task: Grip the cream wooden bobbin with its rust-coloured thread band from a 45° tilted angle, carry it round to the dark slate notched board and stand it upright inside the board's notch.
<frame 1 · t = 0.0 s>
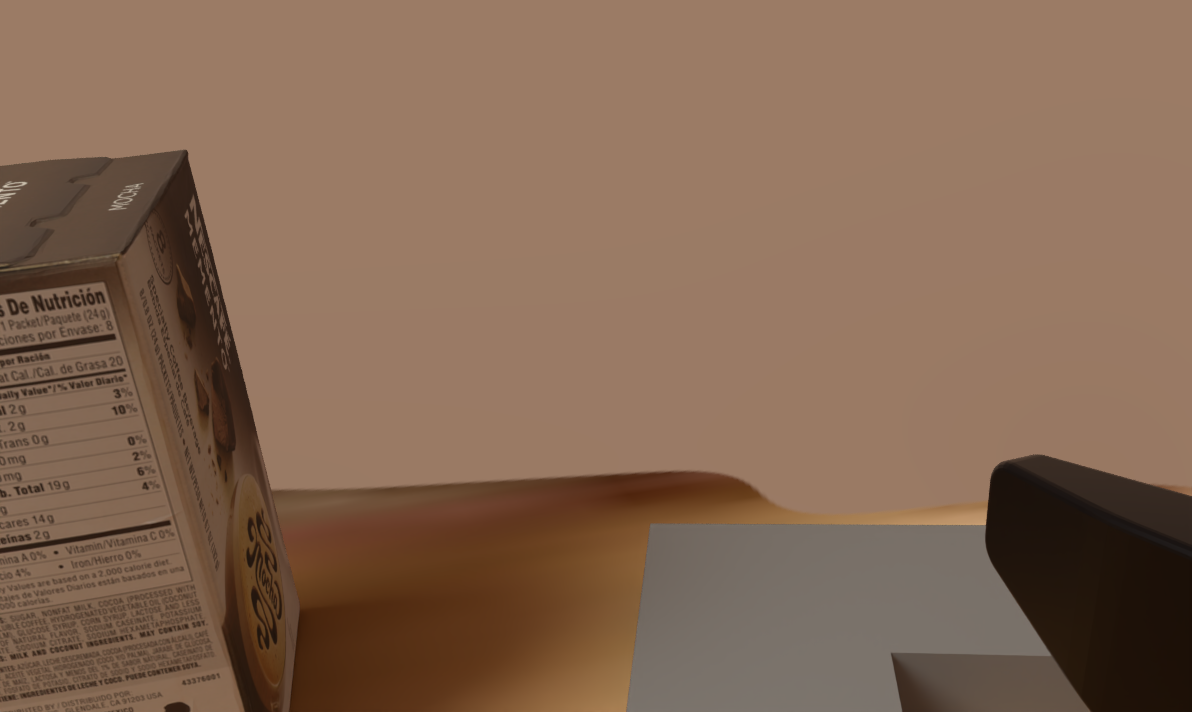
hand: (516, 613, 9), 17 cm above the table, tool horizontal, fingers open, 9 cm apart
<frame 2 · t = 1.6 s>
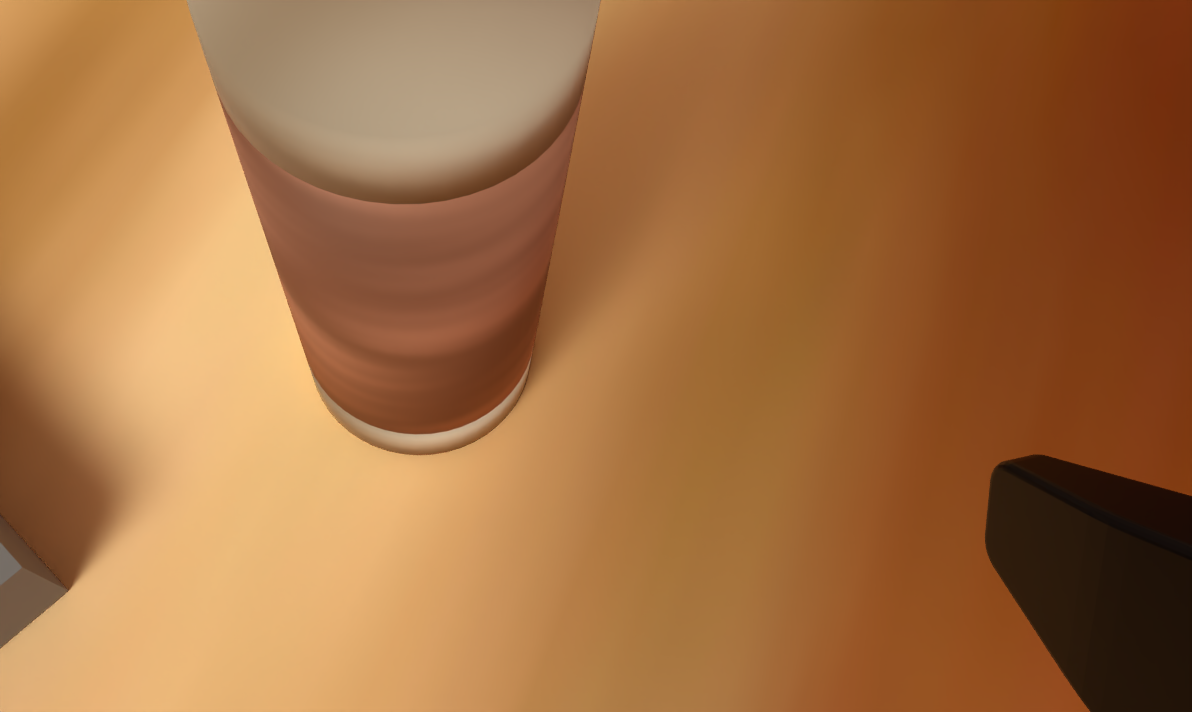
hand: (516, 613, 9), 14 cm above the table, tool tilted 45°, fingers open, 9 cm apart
bobbin: (422, 350, 24), on the table
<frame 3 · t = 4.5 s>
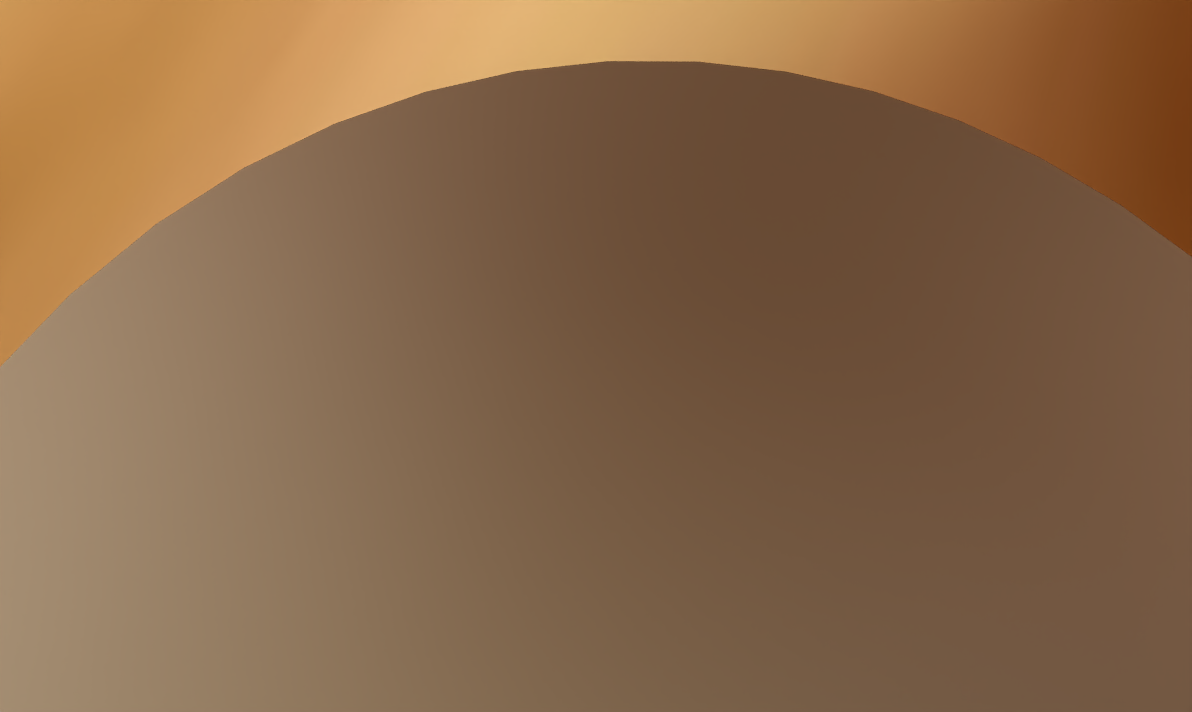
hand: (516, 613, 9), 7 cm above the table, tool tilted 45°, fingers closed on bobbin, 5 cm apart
when the fingers open (8 cm above the table, at t = 10.1 s): bobbin drops 1 cm, on the table.
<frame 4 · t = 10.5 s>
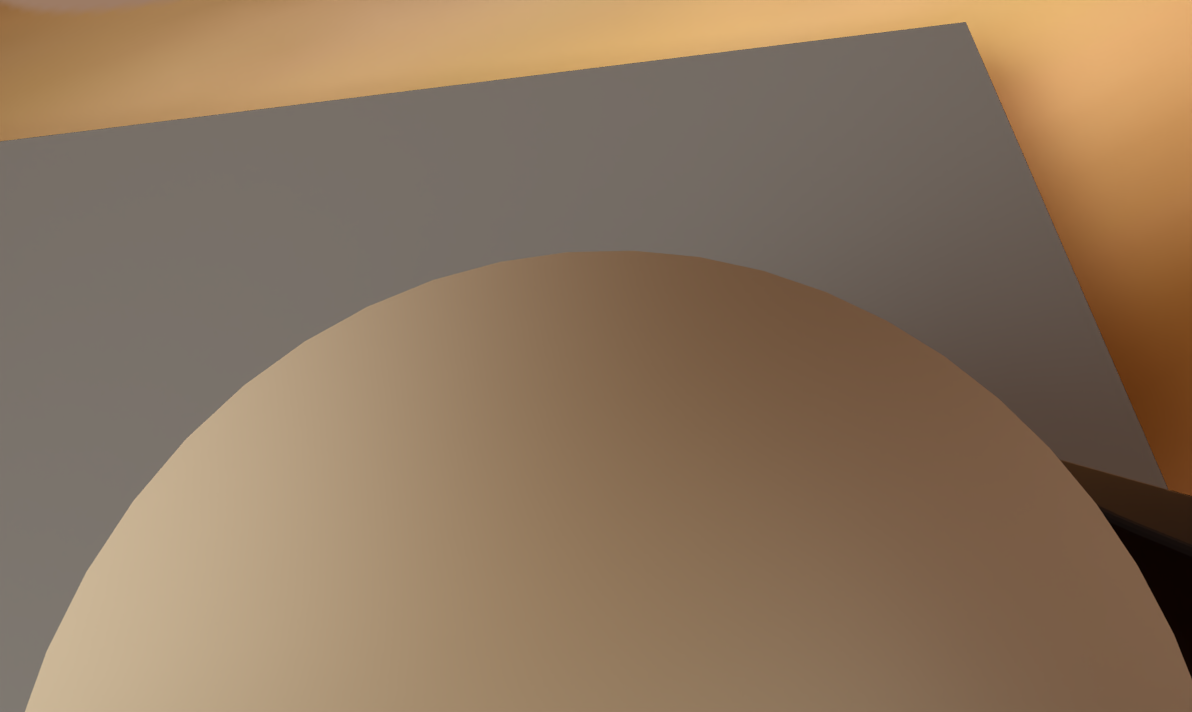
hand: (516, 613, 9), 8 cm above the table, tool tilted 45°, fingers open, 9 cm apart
notched board: (461, 581, 17), on the table
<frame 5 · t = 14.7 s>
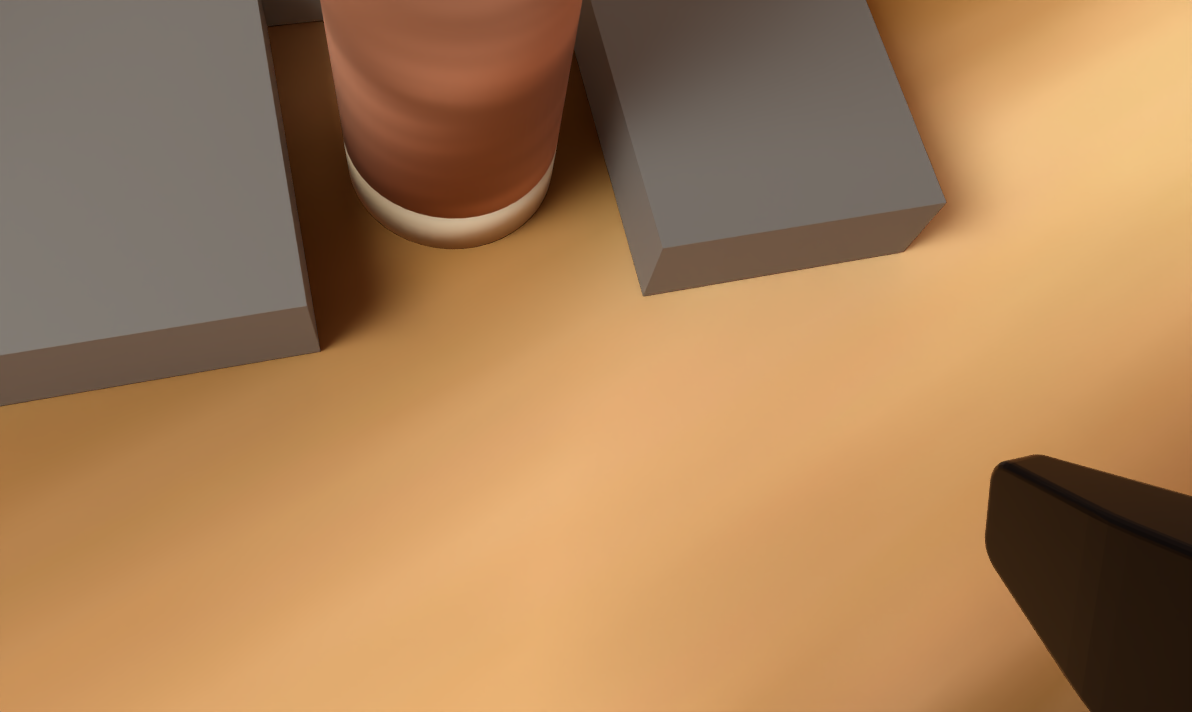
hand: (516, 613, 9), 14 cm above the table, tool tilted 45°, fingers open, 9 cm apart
notched board: (427, 57, 27), on the table
bobbin: (451, 157, 26), on the table
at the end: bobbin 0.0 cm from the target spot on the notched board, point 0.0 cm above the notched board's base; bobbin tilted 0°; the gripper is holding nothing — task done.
